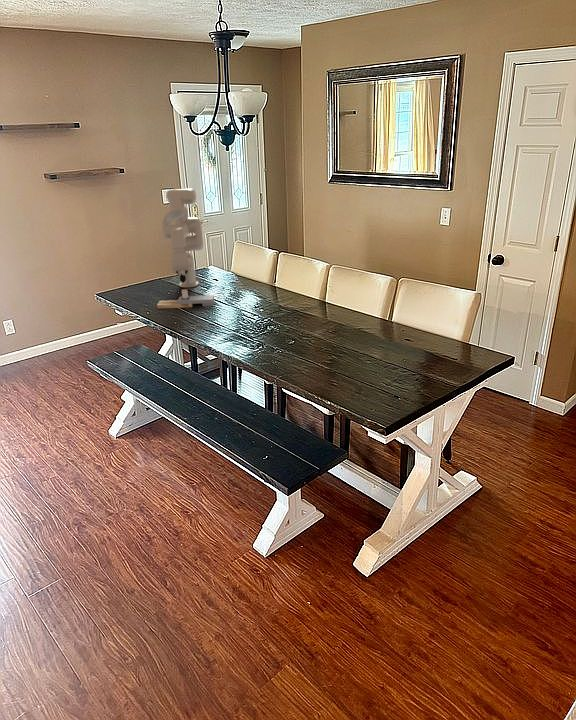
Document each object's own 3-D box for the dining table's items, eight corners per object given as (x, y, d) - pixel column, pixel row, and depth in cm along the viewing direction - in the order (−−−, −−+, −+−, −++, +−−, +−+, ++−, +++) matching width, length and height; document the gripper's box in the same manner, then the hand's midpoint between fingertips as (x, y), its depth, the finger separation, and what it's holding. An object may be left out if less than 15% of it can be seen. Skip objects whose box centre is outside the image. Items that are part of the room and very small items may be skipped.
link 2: (180, 303, 318) (179, 296, 316) (214, 301, 318) (213, 295, 316) (178, 307, 311) (177, 301, 309) (213, 306, 311) (212, 299, 309)
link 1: (159, 304, 318) (159, 300, 317) (194, 302, 318) (193, 299, 317) (157, 308, 311) (156, 305, 310) (192, 307, 311) (191, 303, 310)
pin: (183, 304, 316) (182, 289, 312) (189, 303, 316) (187, 289, 312) (183, 306, 313) (181, 291, 309) (188, 305, 313) (186, 290, 309)
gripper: (193, 247, 304) (197, 279, 312) (167, 249, 304) (171, 280, 312) (191, 251, 297) (195, 283, 305) (164, 252, 297) (169, 284, 305)
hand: (183, 281), depth 308 cm, fingers closed
